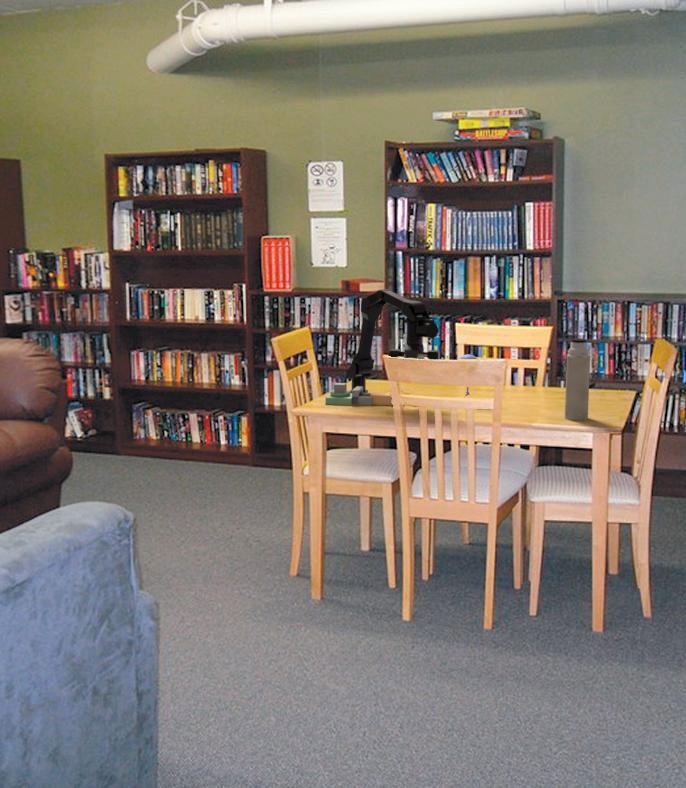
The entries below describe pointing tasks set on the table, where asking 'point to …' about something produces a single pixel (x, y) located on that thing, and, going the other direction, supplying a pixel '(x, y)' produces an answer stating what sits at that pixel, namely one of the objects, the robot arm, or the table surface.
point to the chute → (381, 398)
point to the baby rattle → (468, 356)
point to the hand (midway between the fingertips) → (414, 377)
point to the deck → (348, 396)
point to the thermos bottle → (577, 381)
